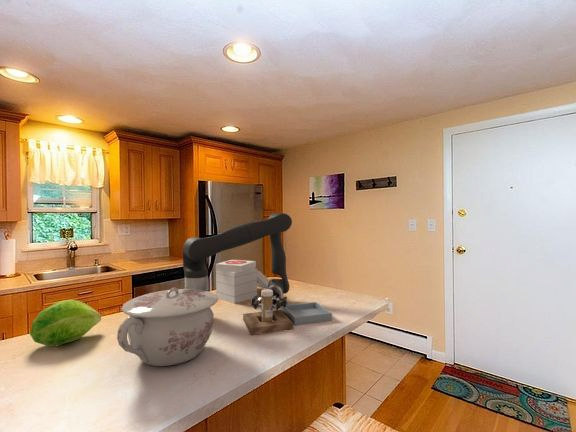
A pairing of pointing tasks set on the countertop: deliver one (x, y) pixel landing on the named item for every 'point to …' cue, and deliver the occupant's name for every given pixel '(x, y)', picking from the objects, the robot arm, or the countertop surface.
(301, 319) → the parts tray
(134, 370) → the countertop surface
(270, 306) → the spice jar
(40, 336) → the green papaya
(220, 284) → the pizza boxes
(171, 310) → the chamber pot
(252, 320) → the socket board
